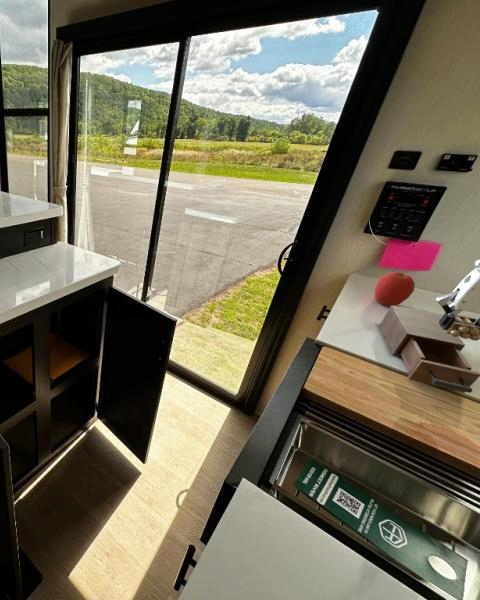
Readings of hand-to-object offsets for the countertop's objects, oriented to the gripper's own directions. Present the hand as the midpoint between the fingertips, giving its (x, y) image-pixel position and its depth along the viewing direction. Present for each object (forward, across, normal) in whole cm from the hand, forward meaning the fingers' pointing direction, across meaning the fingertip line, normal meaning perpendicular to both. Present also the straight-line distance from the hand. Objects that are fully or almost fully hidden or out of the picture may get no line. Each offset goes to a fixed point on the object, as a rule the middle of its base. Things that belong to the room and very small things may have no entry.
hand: (458, 329), depth 83 cm
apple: (+16, -1, +40) cm, 43 cm away
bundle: (0, 0, 0) cm, 0 cm away
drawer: (+15, 0, -1) cm, 15 cm away
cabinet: (+16, 0, +14) cm, 21 cm away
